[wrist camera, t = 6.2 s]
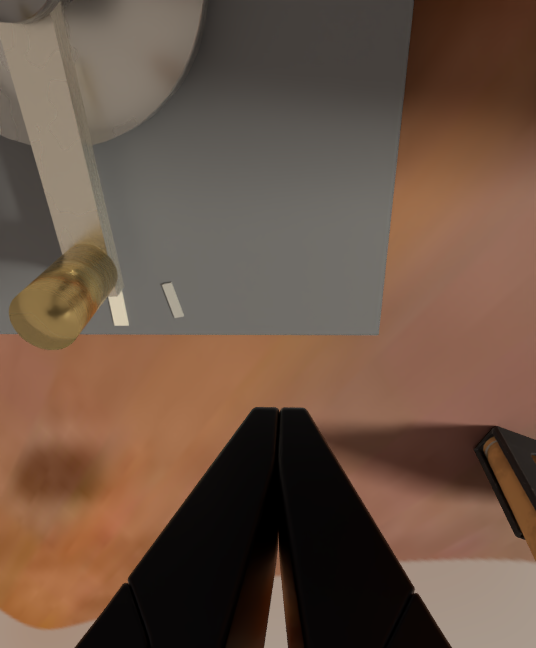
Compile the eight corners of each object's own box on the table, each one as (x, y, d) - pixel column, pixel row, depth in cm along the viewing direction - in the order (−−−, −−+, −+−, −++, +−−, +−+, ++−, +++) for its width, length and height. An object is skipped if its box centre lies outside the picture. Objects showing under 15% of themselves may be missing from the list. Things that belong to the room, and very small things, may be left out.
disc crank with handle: (-212, -275, 12) (-556, -495, 7) (185, -320, 11) (103, -597, 6) (-6, 277, 19) (-105, 352, 15) (238, 271, 19) (218, 347, 14)
